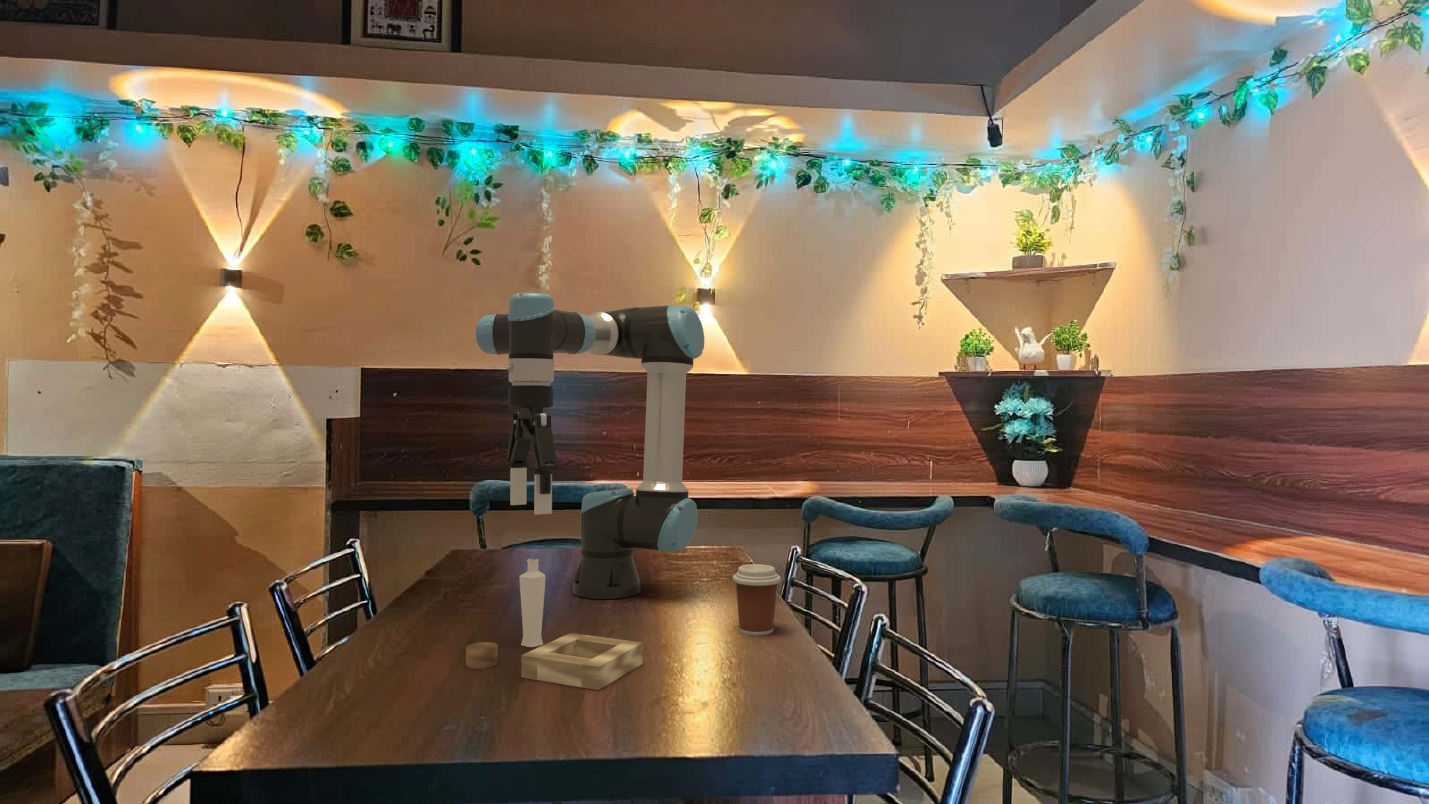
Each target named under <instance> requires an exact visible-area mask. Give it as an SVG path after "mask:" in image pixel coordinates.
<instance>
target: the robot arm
mask: <svg viewBox="0 0 1429 804" xmlns="http://www.w3.org/2000/svg"><path fill="white" fill-rule="evenodd" d="M554 302H555V301H554V298H553V296H552V295H550V294H548V293H538V292H520V293H514V294H513V295H511V297H510V298H509V303H508V305H509V306H508V307H509V308H508V313H495V314H489V315H485V316H483V317H481V318H480V319H479V320H478V322H477V324H476V326H475V327H476V328H475V340H476V343H477V346H478V347H479V349H480V350H481V351H483V352H484V353H485V354H488V355H489V354H490V355H497V356H500V355H508V363H507V364H506V365H505V370H507V371H508V382H509V383H511V384H512V385H509V387H508V392H507V397H508V398H507V402H508V407H510V408H515V409H517V408H518V411H512V413H511V428H510V433H509V441H508V445H507V446H508V447H507V453H506V463H507V464H509V468H510V471H509V472H510V475H509V476H510V481H509V482H510V483H509V484H510V487H509V488H510V489H509V490H510V491H509V492H510V497H509V498H510V506H519V505H520V506H521V505H527V497H528V496H527V495H528V492H527V490H528V489H527V485H528V483H527V480H528V479H527V475H528V473H527V469H528V467H529V463H528V460H527V458H528V454H529V450H531V453H532V458H533V461H534V465H535V468H534V469H533V472H532V475H534V485H533V486H534V496H533V497H534V499H533V500H534V501H533V505H534V510H533V512H534V515H550V514H551V515H552V511H553V474H554V472H556V471H558V462H557V456H556V449H555V442H554V437H553V431H552V429H553V428H552V415H551V413H544V408H545V409H548V408H552V407H553V406H554V388H553V386H552V385H551V384H552V383H553V382H555V381H554V379H555V360H554V354H568V355H577V354H580V355H581V354H584V353H586V352H589V353H590V354H592V355H595V356H611V357H617V358H623V359H624V358H625V359H637V360H638V359H639V360H641V361H640V366H641V367H642V369H644V370H645V372H646V373H647V379H646V382H647V383H646V403H645V405H646V406H645V408H646V409H645V428H644V448H643V449H644V450H643V451H644V452H643V454H644V456H643V473H642V475H643V476H642V477H643V479H642V482H641V483H640V484H639V485H638V486H637V487H636V488H635V492H634V490H633V488H618V489H609V490H602V491H595V492H589V493H587V494H585V495H583V497H582V500H581V501H582V502H581V510H580V517H581V518H580V519H581V522H580V523H581V525H580V526H581V527H580V529H581V530H580V532H581V534H580V537H581V538H580V542H581V543H580V544H581V547H580V549H581V554H580V560H579V561H580V562H579V564H578V568H577V570H576V573H575V576H574V580H573V584H572V594H573V595H575V596H577V597H580V598H586V599H593V600H613V599H624V598H629V597H633V596H636V595H638V594H640V593H641V579H640V577H639V574H638V570H637V567H636V564H635V560H634V550H633V549H635V550H636V549H637V550H647V551H659V552H661V553H665V552H666V553H667V552H670V553H671V552H675V553H677V552H680V551H683V550H685V549H686V548H687V547H688V546H689V545H690V543H691V542H692V540H693V539H694V536H695V533H696V530H697V526H698V521H699V520H698V519H699V511H698V508H697V507H698V506H697V504H696V501H694V500H693V499H691V498H689V489H688V488H687V486H686V485H685V484H684V482H683V469H684V468H683V466H684V465H683V464H684V439H685V437H684V436H685V415H686V413H685V412H686V411H685V410H686V385H687V375H688V373H689V372H690V371H691V370H693V368H694V359H697V358H699V357H701V356H702V354H703V351H704V349H705V332H704V328H703V324H702V321H701V319H700V317H699V315H698V314H697V312H696V311H695V310H694V309H693V308H692V307H690V306H687V305H674V304H671V305H659V306H645V307H644V306H642V307H637V306H636V307H626V308H621V309H617V310H610V311H596V312H592V313H591V314H589V315H584V314H582V313H578V312H577V311H572V312H571V311H566V310H558V309H555V308H556V307H555V303H554Z"/></svg>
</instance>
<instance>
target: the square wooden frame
mask: <svg viewBox="0 0 1429 804" xmlns="http://www.w3.org/2000/svg"><path fill="white" fill-rule="evenodd" d="M643 648H644V643H643V642H641V641H633V640H625V639H619V638H618V639H617V638H612V637H604V636H597V635H589V634H588V635H587V634H580V633H573V632H569V633H568V634H565V635H562V636H561V637H559V638H557V639H556V638H555V640H551V641H550V642H547V643H545V644H543V645H540V646H537V648H534V649H532V650H530V651H527V652H525V653H523V654H521V656H520V657H521V662H520V663H521V665H520V667H521V668H520V669H521V670H520V674H521V675H520V677H521V679H528V680H533V681H540V682H547V683H552V684H557V685H558V684H559V685H564V686H565V685H566V686H571V687H575V688H577V687H578V688H583V689H590V690H596V691H599V690H601V689H603V688H605V687H606V686H608V685H610V684H612V683H613V682H615V681H617V680H619V678H622V677H623V676H625V675H626V674H628V673H630V672H632V671H633V670H635V669H637V668H638V667H640V666H642V665H643V662H644V657H643V656H644V651H643V650H644V649H643Z"/></svg>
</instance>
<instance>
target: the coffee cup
mask: <svg viewBox="0 0 1429 804" xmlns="http://www.w3.org/2000/svg"><path fill="white" fill-rule="evenodd" d="M732 581H733V582H734V583H735V586H736V599H737V615H738V629H739V630H738V631H739V632H740V633H741V634H744V635H747V636H766V635H767V636H768V635H770V634H773V632H774V626H775V625H774V624H775V611H776V602H777V589H778V584H779V583H781V581H782V578H781V576H780V575H779V574H778V573H777V572H776V567H774V566H773V565H768V564H759V563H758V564H757V563H756V564H755V563H753V564H749V563H748V564H743V565H740V566H739V567H738V568H737V572H736V573H735V574H734V575H732Z"/></svg>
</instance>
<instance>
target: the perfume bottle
mask: <svg viewBox="0 0 1429 804" xmlns="http://www.w3.org/2000/svg"><path fill="white" fill-rule="evenodd" d="M526 561H527V571H525V572H524V573H522V574H521V575H519V589H520V606H521V607H520V608H521V619H522V620H521V621H522V635H523V636H522V640H521V644H520V646H524V647H527V648H534V647H541V646H543V645H544V642H543V638H542V631H543V617H544V604H545V603H544V602H545V591H546V578H547V577H546V574H544V573H543V572H541V571H540V570H539V561H540V560H539V558H528V559H527V560H526Z"/></svg>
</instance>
